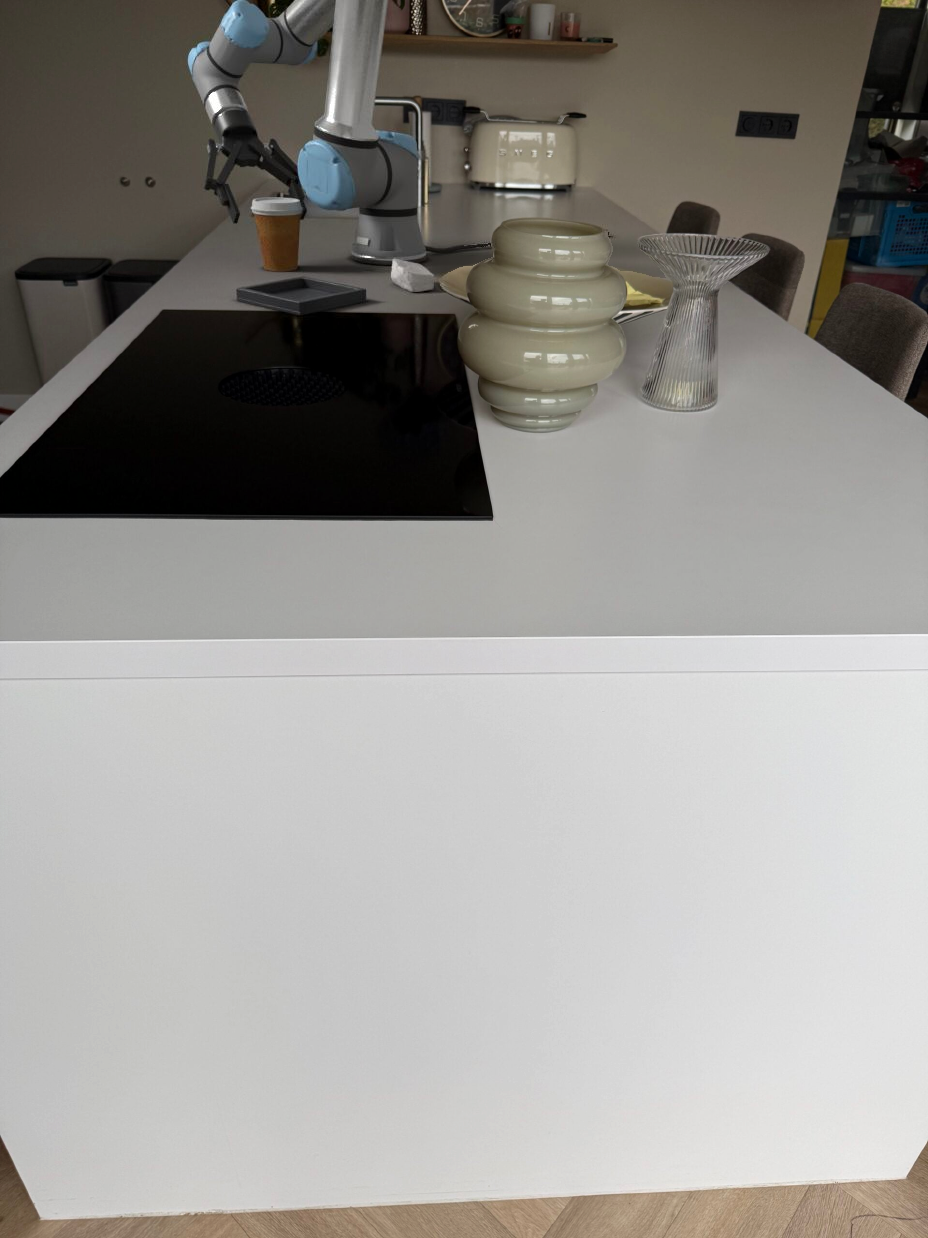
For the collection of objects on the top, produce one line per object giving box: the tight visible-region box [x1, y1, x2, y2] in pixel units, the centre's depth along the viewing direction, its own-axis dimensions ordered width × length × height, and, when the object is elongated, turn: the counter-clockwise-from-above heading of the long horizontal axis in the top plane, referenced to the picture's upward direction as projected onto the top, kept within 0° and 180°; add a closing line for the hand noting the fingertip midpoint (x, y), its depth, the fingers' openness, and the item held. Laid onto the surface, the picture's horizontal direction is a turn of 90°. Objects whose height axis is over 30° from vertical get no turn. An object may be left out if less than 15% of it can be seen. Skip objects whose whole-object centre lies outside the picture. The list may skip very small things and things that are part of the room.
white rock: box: [390, 258, 435, 293], centre depth 163 cm, size 10×6×6 cm, turn 13°
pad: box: [235, 275, 367, 317], centre depth 151 cm, size 15×15×2 cm
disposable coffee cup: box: [250, 196, 303, 272], centre depth 173 cm, size 10×10×12 cm
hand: (270, 216), depth 173 cm, fingers open, 13 cm apart
